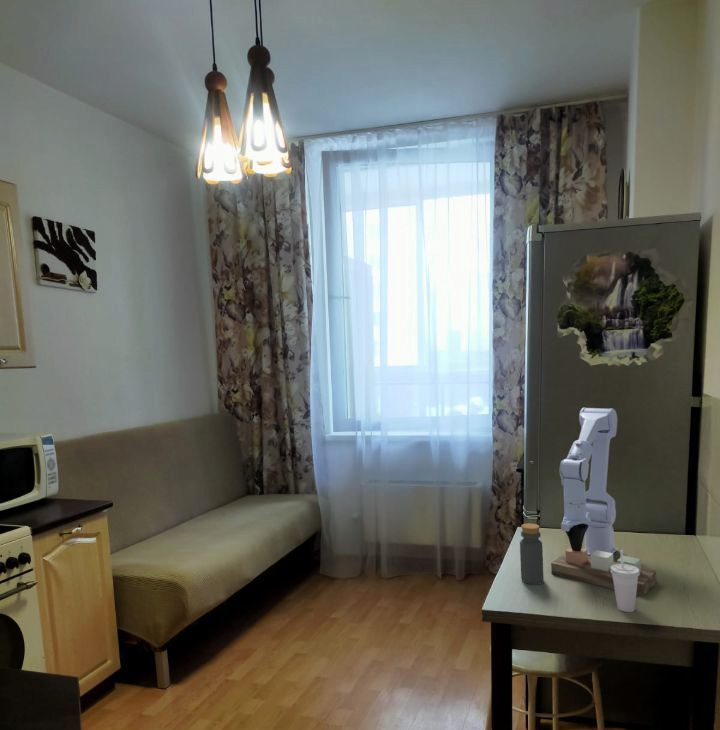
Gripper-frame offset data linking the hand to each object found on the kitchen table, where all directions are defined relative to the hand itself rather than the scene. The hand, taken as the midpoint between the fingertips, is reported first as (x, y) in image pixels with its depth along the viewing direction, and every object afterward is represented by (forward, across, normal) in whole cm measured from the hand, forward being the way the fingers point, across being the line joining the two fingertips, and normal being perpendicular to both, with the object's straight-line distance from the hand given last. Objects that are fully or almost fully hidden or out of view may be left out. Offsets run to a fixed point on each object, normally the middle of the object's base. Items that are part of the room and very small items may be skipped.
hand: (576, 550), depth 160 cm
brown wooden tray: (+6, 0, -7) cm, 9 cm away
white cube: (+4, 0, -7) cm, 8 cm away
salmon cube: (+4, 0, 0) cm, 4 cm away
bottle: (+6, -13, +7) cm, 16 cm away
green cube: (+4, 0, -14) cm, 14 cm away
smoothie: (+6, -15, -18) cm, 24 cm away
